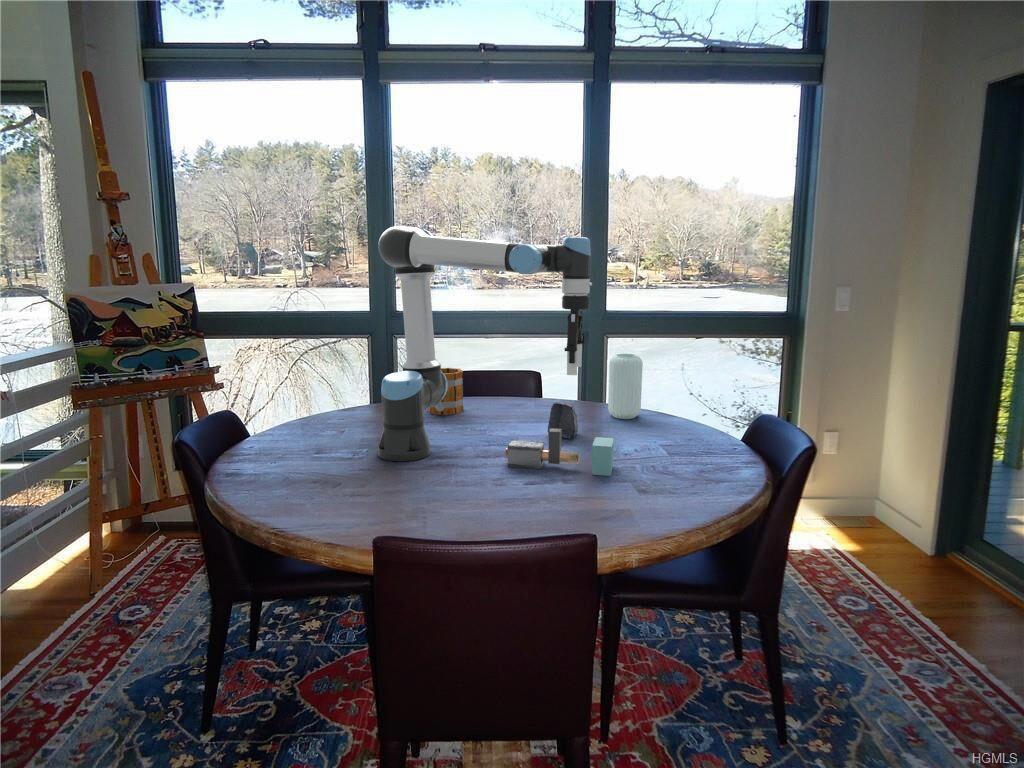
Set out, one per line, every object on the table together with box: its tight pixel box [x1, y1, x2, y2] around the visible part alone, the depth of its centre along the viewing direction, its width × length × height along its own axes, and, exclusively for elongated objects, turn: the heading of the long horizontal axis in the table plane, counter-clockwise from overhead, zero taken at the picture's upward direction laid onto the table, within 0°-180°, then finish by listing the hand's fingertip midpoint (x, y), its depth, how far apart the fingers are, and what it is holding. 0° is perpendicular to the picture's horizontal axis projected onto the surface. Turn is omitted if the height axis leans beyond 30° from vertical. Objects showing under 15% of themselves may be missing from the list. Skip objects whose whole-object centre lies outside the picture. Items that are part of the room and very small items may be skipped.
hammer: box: [504, 428, 580, 465], centre depth 178 cm, size 20×3×9 cm, turn 77°
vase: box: [607, 352, 643, 420], centre depth 231 cm, size 12×12×22 cm
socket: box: [591, 436, 615, 477], centre depth 175 cm, size 5×8×8 cm, turn 167°
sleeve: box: [507, 439, 545, 470], centre depth 179 cm, size 9×6×6 cm, turn 77°
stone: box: [547, 401, 579, 440], centre depth 209 cm, size 12×10×10 cm
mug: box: [427, 367, 465, 416], centre depth 237 cm, size 20×14×15 cm
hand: (574, 370), depth 183 cm, fingers open, 13 cm apart
